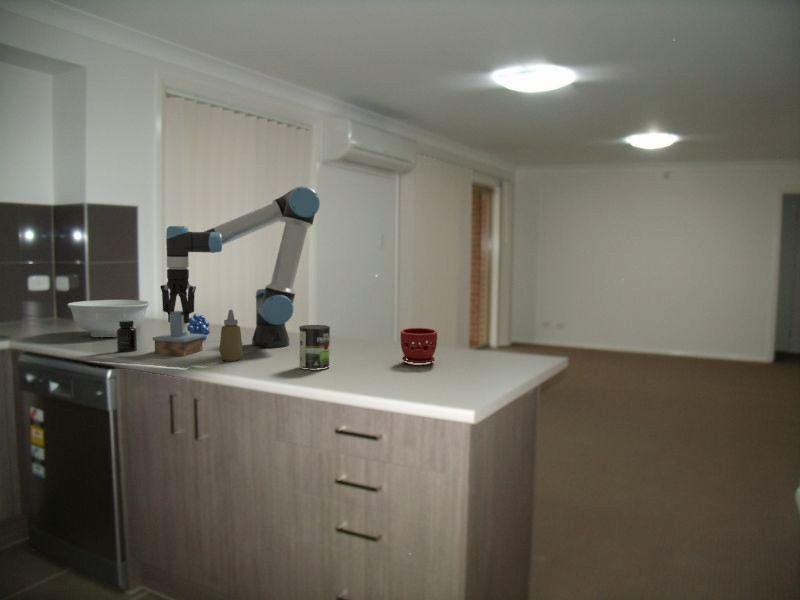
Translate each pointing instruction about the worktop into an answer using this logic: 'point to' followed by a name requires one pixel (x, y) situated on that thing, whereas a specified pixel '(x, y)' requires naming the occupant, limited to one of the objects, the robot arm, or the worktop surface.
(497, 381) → the worktop surface
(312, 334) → the coffee can
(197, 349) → the box
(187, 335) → the lid
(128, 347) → the supplement bottle
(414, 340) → the plant pot
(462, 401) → the worktop surface
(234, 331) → the squeeze bottle
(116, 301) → the bowl
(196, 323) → the grapes
